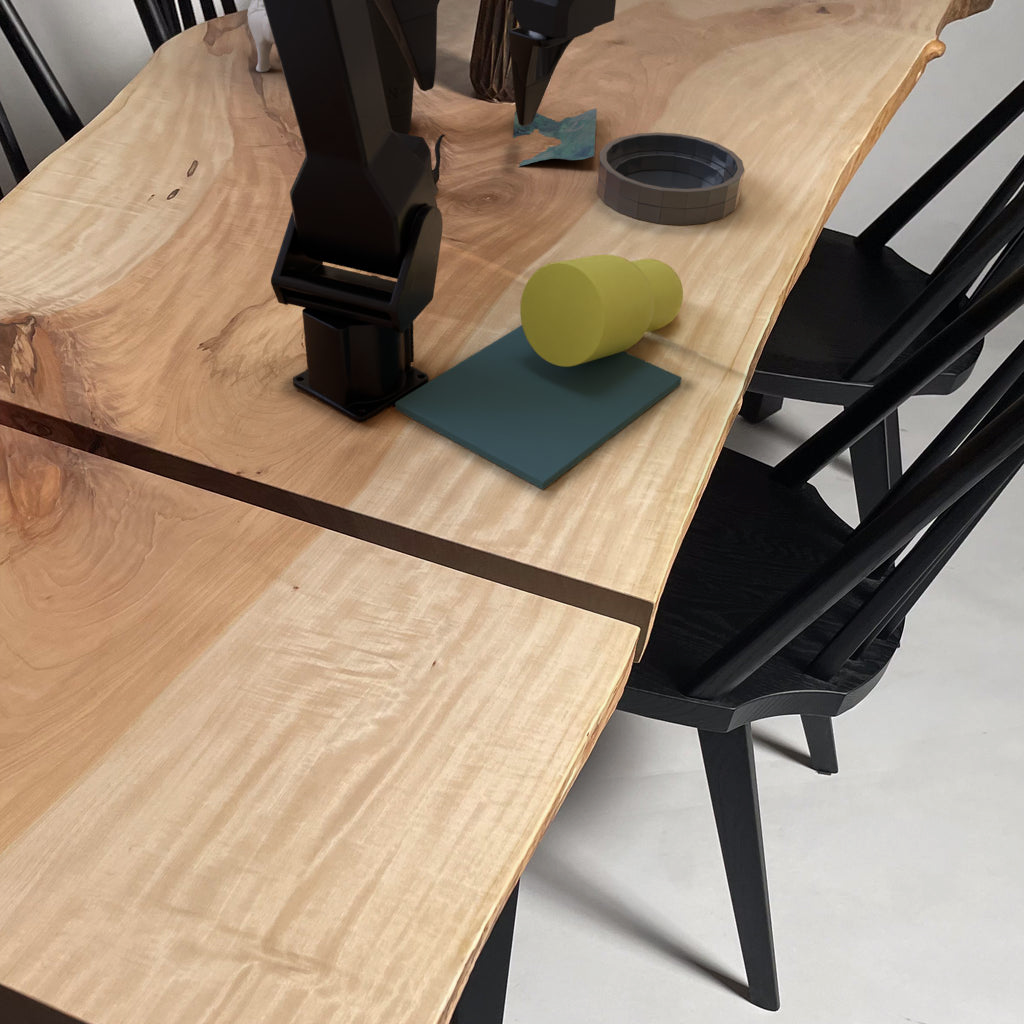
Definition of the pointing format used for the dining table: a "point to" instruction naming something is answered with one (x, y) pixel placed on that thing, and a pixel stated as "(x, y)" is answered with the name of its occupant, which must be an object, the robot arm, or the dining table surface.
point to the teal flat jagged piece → (562, 136)
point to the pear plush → (596, 306)
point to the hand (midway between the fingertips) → (475, 106)
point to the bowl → (669, 178)
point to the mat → (536, 405)
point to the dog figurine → (260, 33)
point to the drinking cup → (392, 72)
